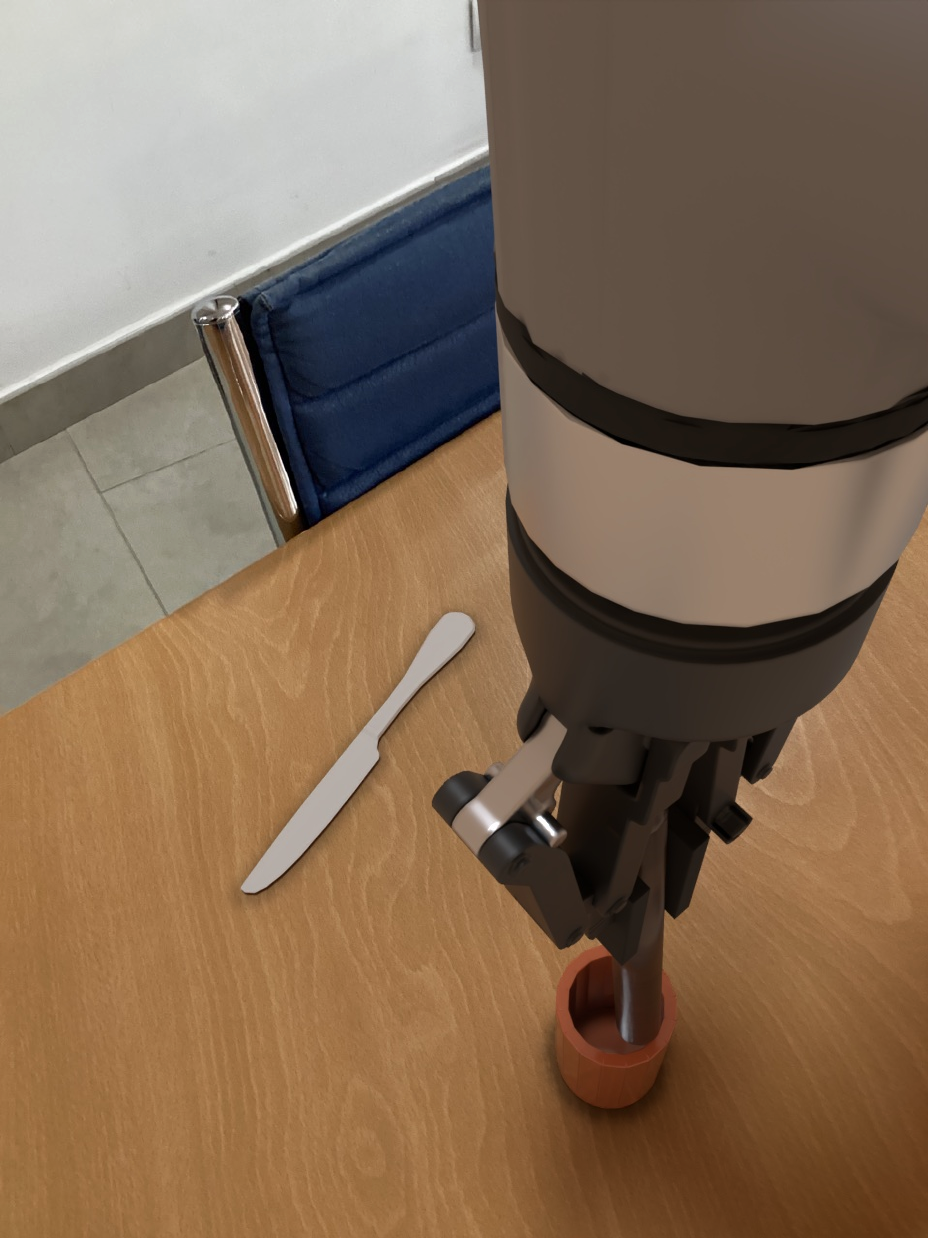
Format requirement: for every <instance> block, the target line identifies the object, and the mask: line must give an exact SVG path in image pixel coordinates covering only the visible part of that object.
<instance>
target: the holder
mask: <svg viewBox="0 0 928 1238" xmlns="http://www.w3.org/2000/svg"><path fill="white" fill-rule="evenodd" d="M555 994H556V996H555V1059H556V1063H557V1066H558V1070H559V1073H560V1075H561V1077H562V1079H563V1081H564V1083H565V1084H566V1086H567V1087H568V1088H569V1089H570V1091H571V1092H572V1093H573V1094H574V1095H575V1096H577V1098H579V1099H581V1100H582V1101H583V1102H585V1103H587V1104H589V1105H591V1106H593V1107H597V1108H601V1109H606V1110H607V1109H610V1110H612V1109H613V1110H615V1109H622V1108H625V1107H628V1106H630V1105H633V1104H634V1103H636V1102H638V1101H640V1100H641V1099H642V1098H643V1097H645V1095H646V1094H648V1092H650V1090H651V1089H652V1087H653V1086H654V1084H655V1081H656V1079H657V1077H658V1074H659V1071H660V1069H661V1067H662V1064H663V1062H664V1059H665V1056H666V1053H667V1050H668V1047H669V1045H670V1041H671V1039H672V1036H673V1033H674V1031H675V1028H676V1026H677V1021H678V999H677V995H676V992H675V990H674V988H673V984H672V982H671V980H670V977H669V975H668V974H667V972H666V971H665V970H664V969H663V968H662V994H661V1021H660V1030H659V1032H658V1035H657V1036H656V1038H655V1039H654V1040H653V1041H652V1042H650V1043H649V1044H646V1045H642V1046H636V1045H632V1044H630V1043H628V1042H626V1041H625V1040H624V1039H623V1038H622V1037H621V1036H620V1034H619V1032H618V1030H617V1027H616V1017H615V1001H614V984H613V968H612V955H611V954H610V953H609V952H608V951H607V949H606V948H605V947H604V946H603V945H602V944H601V945H597V946H594V947H591V948H587V949H585V950H584V951H582V952H581V953H580V954H578V956H576V957H574V959H573V960H572V961H571V962H569V963H568V964H567V966H565V969H564V970H563V973H562V975H561V977H560V979H559V981H558V984H557V985H556V993H555Z"/></svg>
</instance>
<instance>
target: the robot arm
mask: <svg viewBox="0 0 928 1238" xmlns="http://www.w3.org/2000/svg"><path fill="white" fill-rule="evenodd" d="M476 5H477V6H476V7H477V18H478V27H479V39H480V47H481V60H482V71H483V82H484V83H483V85H484V86H483V87H484V100H485V114H486V131H487V145H488V158H489V159H488V160H489V174H490V188H491V189H490V191H491V204H492V205H491V206H492V218H493V233H494V234H493V235H494V237H493V251H492V255H493V261H494V290H495V302H494V311H495V312H494V313H495V327H496V328H495V331H496V346H497V347H496V348H497V363H498V365H497V366H498V382H499V397H500V414H501V434H502V451H503V464H504V469H505V475H506V479H507V482H506V491H505V500H504V501H505V523H506V537H507V538H506V540H507V556H508V557H507V561H508V577H509V595H510V603H511V608H512V609H511V610H512V614H513V620H514V623H515V627H516V631H517V634H518V637H519V640H520V642H521V646H522V648H523V651H524V654H525V657H526V660H527V663H528V667H529V669H530V672H531V680H530V682H529V686H528V688H527V690H526V692H525V695H524V697H523V699H522V701H521V703H520V705H519V707H518V710H517V715H516V730H517V734H518V736H519V739H520V741H521V742H522V745H521V746H520V747H519V748H518V750H516V752H515V753H514V754H512V756H511V757H510V758H509V759H508V760H507V761H506V763H504V762H503V761H495V762H493V763H492V764H490V765H489V766H487V768H486V769H485V771H484V774H482V773H479V772H475V771H472V770H462V771H460V772H457V773H455V774H453V775H451V776H450V777H449V778H447V779H446V780H445V781H444V782H443V784H442V785H440V786H439V788H438V789H437V791H436V792H435V793H434V795H433V797H432V799H431V807H432V809H434V811H435V812H436V813H437V814H438V815H439V816H440V818H441V819H442V820H443V822H445V824H446V825H448V827H449V828H450V829H451V830H452V831H453V833H454V834H455V835H456V836H457V837H458V839H459V840H460V841H461V842H462V843H463V844H464V845H465V846H466V847H467V849H469V851H470V852H471V853H472V854H473V855H474V857H475V858H476V859H477V860H478V861H479V862H480V863H481V865H483V867H484V868H485V869H486V870H487V872H488V873H489V874H490V875H491V876H492V877H493V879H494V880H496V882H497V883H498V884H500V885H503V886H504V888H505V890H507V892H508V893H509V894H510V895H511V896H512V897H513V898H514V900H515V901H516V902H517V903H518V904H519V906H520V907H521V908H522V909H523V911H525V913H527V914H528V916H529V917H530V918H531V920H532V921H534V922H535V924H536V925H537V926H538V927H539V928H540V929H541V930H542V931H543V933H544V935H546V936H547V938H548V939H549V940H550V941H551V942H552V943H553V944H554V945H555V947H556V948H557V949H558V950H559V951H563V950H565V949H569V948H570V947H572V946H574V945H576V944H577V943H579V942H580V941H581V940H582V938H583V936H585V937H586V938H587V939H588V940H590V941H594V940H595V939H596V940H597V941H598V942H599V943H600V944H601V945H603V946H604V947H605V948H606V949H607V951H608V952H609V953H610V954H611V955H612V956H613V957H614V958H615V959H616V961H617V962H618V963H619V964H620V965H621V966H623V965H624V964H625V963H626V962H627V961H629V960H630V959H631V958H632V957H633V956H634V955H635V954H636V953H637V951H638V946H639V941H640V936H641V932H642V927H643V922H644V917H645V913H646V908H647V903H648V898H649V894H650V889H651V888H650V887H649V886H648V885H647V884H646V883H645V882H644V881H643V880H642V879H641V878H640V877H639V876H638V872H639V869H640V865H641V862H642V859H643V856H644V853H645V850H646V847H647V843H648V840H649V837H650V834H651V831H652V828H653V824H654V821H655V818H656V816H658V815H659V814H660V813H661V812H663V811H664V810H665V809H666V808H668V834H667V860H666V887H665V911H666V913H667V914H668V916H670V917H671V918H672V919H673V920H676V919H677V918H678V917H679V916H680V915H682V914H683V913H684V912H685V911H686V910H688V908H689V907H690V905H691V902H692V899H693V896H694V892H695V888H696V885H697V881H698V879H699V875H700V873H701V868H702V865H703V862H704V860H705V856H706V852H707V850H708V849H707V848H708V846H709V842H710V839H711V835H710V834H711V832H713V833H714V834H715V835H716V837H717V838H719V839H720V840H721V841H722V842H723V843H724V844H725V845H726V846H727V845H730V844H731V843H733V842H734V841H736V840H737V839H738V838H739V837H740V836H741V835H742V834H743V833H744V832H745V831H746V830H747V829H748V827H749V826H750V825H751V823H752V822H753V819H754V818H753V817H752V816H751V815H750V814H749V813H748V812H747V811H746V810H745V809H744V808H742V806H740V805H739V804H738V803H737V802H736V800H737V795H738V789H739V784H740V781H741V780H740V779H741V777H742V778H743V779H744V780H746V781H747V783H748V784H749V785H754V784H757V783H758V782H759V781H761V780H765V779H766V778H768V776H769V775H770V774H771V773H772V772H773V769H774V768H773V767H774V765H775V764H776V762H777V760H778V758H779V756H780V754H781V752H782V750H783V748H784V746H785V744H786V742H787V740H788V739H789V736H790V734H791V732H792V731H793V728H794V726H795V724H796V722H797V720H798V718H800V717H801V716H803V715H804V714H806V713H807V712H809V711H810V710H812V709H813V708H815V707H816V706H818V705H819V704H820V703H822V702H823V701H824V700H825V699H826V698H827V697H828V696H829V695H830V694H831V693H832V692H833V691H834V690H835V689H836V687H838V686H839V685H840V683H841V682H842V681H843V680H844V678H845V677H846V676H847V674H848V673H849V671H850V670H851V669H852V667H853V665H854V664H855V662H856V660H857V658H858V657H859V654H860V652H861V650H862V647H863V645H864V642H865V640H866V638H867V636H868V634H869V632H870V629H871V627H872V624H873V622H874V620H875V618H876V616H877V614H878V611H879V609H880V607H881V604H882V602H883V599H884V597H885V595H886V592H887V591H888V588H889V586H890V583H891V581H892V579H893V576H894V575H895V572H896V570H897V566H898V565H899V561H900V558H901V556H902V554H903V553H904V551H905V550H906V548H907V547H908V544H909V543H910V541H911V540H912V539H913V536H914V535H915V533H916V531H917V530H918V528H919V526H920V524H921V522H922V519H923V517H924V514H925V512H926V510H927V507H928V0H476ZM560 785H561V788H560V793H559V799H558V807H557V800H556V798H555V794H556V792H557V789H558V787H559V786H560ZM556 807H557V813H556V817H555V816H554V815H553V813H554V811H555V809H556Z"/></svg>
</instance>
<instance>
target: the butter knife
mask: <svg viewBox="0 0 928 1238" xmlns="http://www.w3.org/2000/svg"><path fill="white" fill-rule="evenodd" d="M475 631H476V623H475V622H474V621H473V619H472V617H471V616H469V615H468V614H466V613H464V612H459V611H450V612H448V613H445V614H443V615H442V617H441V618H440V619H439V620H438V621H437V623H436V624H435V625H434V626H433V628H432V629H431V630H430V631H429V633H428V635H427V636H426V638H425V640H424V641H423V643H422V645H421V646H420V648H419V650H418V651H417V653H416V655H415V656H414V658H413V660H412V662H411V663H410V666H409V668H408V669H407V671H406V673H405V674H404V676H403V678H401V680H400V682H399V683H398V684H397V686H396V687H395V688H394V690H393V691H392V693H390V695H389V696H388V698H387V699H386V701H385V702H384V703H383V704H382V705H381V707H380V708H379V709H378V710H377V711H376V713H374V715H373V716H372V717H371V719H370V720H369V721H368V722H367V723H366V725H364V727H363V728H362V729H361V730H360V732H359V733H358V734H357V735H356V737H355V738H354V739H353V740H352V742H351V743H350V744H349V746H348V747H347V748H346V749H345V750H344V752H343V753H342V755H341V756H340V757H339V758H338V759H337V760H336V761H335V763H334V764H333V765H332V767H331V768H330V769H329V771H328V772H327V773H326V774H325V776H324V777H322V779H321V780H320V782H319V783H318V784H317V785H316V787H315V788H314V789H313V790H312V792H311V793H309V795H308V797H307V798H306V799H305V800H304V801H303V803H301V805H300V806H299V807H298V809H297V811H296V812H295V813H294V814H293V815H292V817H291V818H290V820H289V821H288V822H287V824H286V825H285V826H284V827H283V828H282V830H281V831H280V832H279V834H278V835H277V837H276V838H275V839H274V841H273V842H272V843H271V845H270V846H268V849H267V850H266V851H265V853H264V854H263V855H262V857H261V858H260V860H259V861H258V862H257V864H256V865H255V866H254V868H253V869H252V870H251V872H250V873H249V874H248V876H247V877H246V879H245V880H244V882H243V883H242V885H241V887H239V889H240V890H241V891H242V892H243V893H247V894H248V893H250V894H255V893H258V892H259V891H261V890H263V889H265V888H267V887H268V886H270V885H271V884H272V883H273V882H275V881H276V880H277V879H278V878H279V877H281V876H282V875H283V874H284V873H285V872H286V871H287V870H288V869H289V868H290V867H291V866H292V865H293V864H294V863H295V862H297V860H298V859H299V858H301V856H302V855H303V854H304V852H305V851H306V850H307V849H308V848H309V846H310V845H311V844H312V843H313V842H314V841H315V840H316V838H318V836H319V835H320V834H322V832H323V831H324V829H325V828H326V827H327V826H328V825H329V823H330V822H331V821H332V820H333V819H334V817H336V815H337V814H338V812H339V811H340V810H341V808H342V807H343V806H344V805H345V803H346V802H347V801H348V799H349V798H350V797H351V796H352V795H353V793H354V792H356V791H355V790H356V789H357V788H358V787H359V785H360V784H361V783H362V781H363V780H365V778H366V776H367V775H368V774H369V772H370V771H371V770H372V769H373V767H374V766H375V765H376V763H377V762H378V761H379V759H380V752H379V750H378V743H379V740H380V738H381V737H382V736H383V734H384V733H385V732H386V730H387V729H388V728H389V727H390V725H391V724H392V722H393V721H394V720H395V719H396V717H397V716H398V714H399V713H400V712H401V711H402V710H403V708H404V707H405V706H406V705H407V704H408V702H409V701H410V700H411V699H412V698H413V697H414V696H415V694H416V693H417V692H418V691H419V689H420V688H421V687H422V686H423V685H424V684H425V683H427V682H428V681H429V680H430V679H431V678H432V677H433V676H434V675H435V674H436V673H437V672H438V671H440V670H441V668H442V667H444V665H445V664H446V663H448V662H449V661H450V660H451V659H452V658H453V657H454V656H455V655H456V654H457V653H458V652H459V651H460V650H461V649H463V647H464V646H465V644H466V643H467V642H468V641H469V639H470V638H471V637H472V635H473V634H474V633H475Z"/></svg>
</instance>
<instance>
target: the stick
mask: <svg viewBox="0 0 928 1238" xmlns="http://www.w3.org/2000/svg"><path fill="white" fill-rule="evenodd" d="M667 834H668V808H666V809H665V810H664V811H663V812H661V813H660V814H659V815H658V816H656V818H655V821H654V824H653V828H652V831H651V834H650V837H649V840H648V843H647V847H646V850H645V853H644V856H643V859H642V862H641V865H640V869H639V872H638V876H639V877H640V878H641V879H642V880H643V881H644V882H645V883H646V884H647V885H648V886H649V887H650V888H651V889H650V894H649V898H648V903H647V908H646V913H645V917H644V922H643V927H642V932H641V936H640V941H639V946H638V951H637V953H636V954H635V955H634V956H633V957H632V958H631V959H630V960H629V961H627V962H626V963H625V964H624V965H623V966H621V965H620V964H619V963H618V962H617V961H616V959H615V958H614V957H613V956H612V968H613V984H614V1001H615V1017H616V1027H617V1030H618V1032H619V1034H620V1036H621V1037H622V1038H623V1039H624V1040H625V1041H626V1042H628V1043H630V1044H632V1045H636V1046H642V1045H646V1044H649V1043H650V1042H652V1041H653V1040H654V1039H655V1038H656V1036H657V1035H658V1032H659V1030H660V1021H661V994H662V969H663V967H664V966H663V964H664V962H663V961H664V940H665V939H664V937H665V913H666V912H665V911H666V910H665V887H666V860H667Z"/></svg>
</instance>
